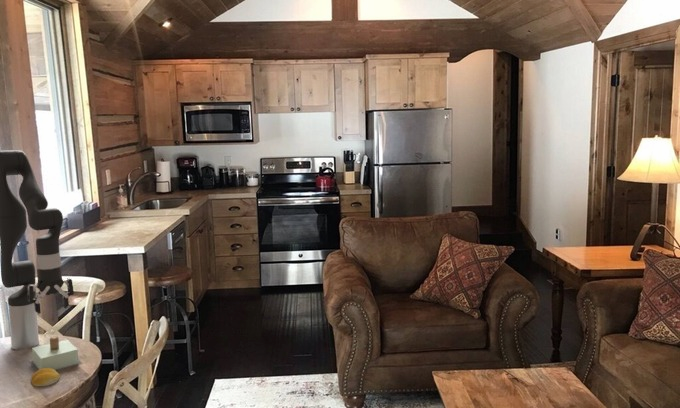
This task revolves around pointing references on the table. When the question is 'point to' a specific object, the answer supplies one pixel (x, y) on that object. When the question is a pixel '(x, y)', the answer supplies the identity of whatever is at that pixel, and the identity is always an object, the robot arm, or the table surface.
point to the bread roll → (45, 377)
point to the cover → (55, 354)
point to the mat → (56, 369)
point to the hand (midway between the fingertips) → (52, 310)
